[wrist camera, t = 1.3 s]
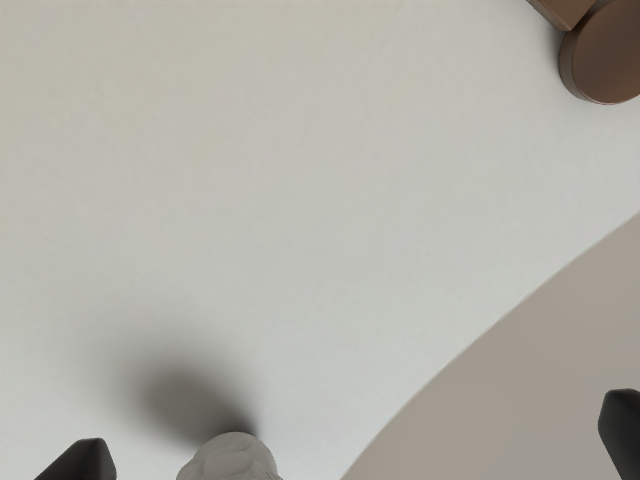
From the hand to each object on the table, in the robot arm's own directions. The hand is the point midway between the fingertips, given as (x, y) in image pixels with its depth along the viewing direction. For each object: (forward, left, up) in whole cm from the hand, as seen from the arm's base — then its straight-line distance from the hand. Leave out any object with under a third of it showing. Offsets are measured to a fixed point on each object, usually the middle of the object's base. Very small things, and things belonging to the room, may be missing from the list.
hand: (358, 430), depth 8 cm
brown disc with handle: (-4, -12, -13) cm, 18 cm away
